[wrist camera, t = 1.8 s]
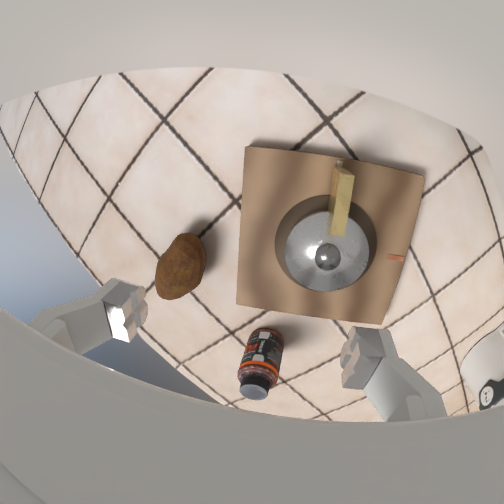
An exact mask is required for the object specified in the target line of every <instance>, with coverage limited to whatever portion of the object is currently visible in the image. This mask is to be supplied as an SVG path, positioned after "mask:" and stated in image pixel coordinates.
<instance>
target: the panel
mask: <svg viewBox="0 0 504 504" xmlns="http://www.w3.org/2000/svg"><path fill="white" fill-rule="evenodd" d="M334 166H336V167H342V168H346V169H347V170H348V171H350V172H351V173H352V174H353V175H354V176H355V177H354V184H353V190H352V196H351V202H350V208H349V213H348V215H350V216H351V217H352V218H354V219H355V220H356V221H357V223H358V224H359V225H360V227H361V228H362V230H363V232H364V234H365V236H366V239H367V241H368V246H369V258H368V262H367V265H366V267H365V269H364V271H363V273H362V274H361V275H360V277H359V278H358V279H357V280H356V281H355V282H353V283H352V284H350V285H349V286H347V287H345V288H343V289H340V290H336V291H330V292H322V291H316V290H312V289H309V288H307V287H305V286H304V285H302V284H300V283H299V282H298V281H297V280H296V279H295V278H294V277H293V276H292V274H291V273H290V271H289V269H288V267H287V264H286V260H285V247H286V242H287V238H288V235H289V232H290V230H291V228H292V227H293V225H294V224H295V223H296V222H297V221H298V220H299V219H300V218H301V217H302V216H304V215H306V214H307V213H310V212H312V211H315V210H319V209H328V204H329V197H330V191H331V184H332V177H333V169H334ZM424 182H425V177H424V176H422V175H419V174H416V173H412V172H408V171H404V170H400V169H396V168H392V167H387V166H383V165H378V164H373V163H369V162H364V161H359V160H353V159H348V158H342V157H336V156H330V155H324V154H317V153H310V152H303V151H295V150H286V149H277V148H267V147H255V146H246V147H245V156H244V171H243V187H242V204H241V221H240V239H239V258H238V278H237V299H236V304H237V305H243V306H248V307H254V308H260V309H266V310H272V311H278V312H284V313H291V314H297V315H304V316H311V317H319V318H326V319H334V320H342V321H350V322H359V323H368V324H378V325H381V324H382V322H383V320H384V317H385V315H386V312H387V310H388V307H389V305H390V302H391V299H392V297H393V294H394V291H395V288H396V286H397V283H398V280H399V277H400V274H401V271H402V268H403V265H404V262H405V259H406V255H407V252H408V249H409V245H410V242H411V238H412V234H413V231H414V227H415V223H416V219H417V215H418V210H419V206H420V202H421V197H422V192H423V187H424Z"/></svg>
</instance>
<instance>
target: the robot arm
mask: <svg viewBox="0 0 504 504" xmlns="http://www.w3.org/2000/svg"><path fill="white" fill-rule="evenodd" d="M145 296H146V291H145V288H144V287H143V286H140V285H137V284H134V283H130V282H127V281H122V280H119V279H116V278H111V279H110V280H109V281H108V282H107V283H106V284H104V285H103V286H102V287H101V288H100V289H99V290H98V291H97V292H96V293H95V294H93V295H92V296H91V297H89V296H87V297H83V298H81V299H77V300H74V301H71V302H68V303H64V304H61V305H58V306H55V307H52V308H49V309H45V310H43V311H42V312H41V313H39V314H38V315H37V316H36V317H35V318H34V319H33V320H32V321H31V322H30V323H29V324H28V325H26V324H25V323H23V322H22V321H20V320H19V319H17V318H16V317H14V316H13V315H11V314H10V313H8V312H7V311H6V310H4V309H3V308H1V307H0V504H504V323H503V324H501V325H500V326H499V327H498V328H497V329H496V330H495V331H494V332H492V333H490V334H489V335H487V336H486V337H484V338H483V339H482V340H480V341H479V342H478V343H477V344H476V345H475V346H474V347H473V348H472V349H471V350H470V352H469V353H468V354H467V356H466V357H465V359H464V360H463V362H462V365H461V368H460V374H461V376H462V377H463V378H464V386H465V387H468V388H469V390H470V392H471V394H472V396H473V398H474V400H475V402H476V404H477V405H478V406H479V409H480V411H476V412H471V413H466V414H461V415H455V416H447V413H446V410H445V407H444V403H443V400H442V397H441V394H440V393H439V392H438V391H437V390H436V389H435V388H434V387H433V386H432V385H431V384H430V383H428V382H427V381H426V380H425V379H424V378H423V377H422V376H421V375H420V374H419V373H418V372H416V371H415V370H414V369H413V368H412V367H411V366H410V365H409V364H408V363H407V362H405V361H404V360H403V359H402V358H399V357H398V354H397V351H396V348H395V345H394V342H393V339H392V336H391V333H390V331H389V330H388V329H372V328H363V327H355V326H352V328H351V329H350V331H349V333H348V336H349V340H348V341H346V342H345V343H344V345H343V348H342V351H341V356H340V364H341V367H342V368H343V369H344V370H343V372H342V374H341V375H342V386H343V388H350V389H362V390H363V392H364V393H365V394H366V396H367V397H368V399H369V400H370V401H371V403H372V404H373V406H374V407H375V408H376V410H377V411H378V413H379V414H380V416H381V417H382V418H383V420H384V421H385V422H339V421H322V420H311V419H301V418H292V417H284V416H277V415H270V414H264V413H258V412H253V411H247V410H242V409H237V408H233V407H228V406H224V405H219V404H215V403H211V402H207V401H203V400H199V399H196V398H192V397H189V396H185V395H182V394H179V393H175V392H172V391H169V390H166V389H163V388H160V387H157V386H154V385H151V384H148V383H145V382H143V381H140V380H137V379H135V378H132V377H130V376H127V375H124V374H122V373H120V372H117V371H114V370H112V369H110V368H108V367H105V366H103V365H101V364H99V363H97V362H94V361H92V360H90V359H88V358H86V357H84V356H82V355H81V354H83V353H85V352H87V351H89V350H91V349H93V348H95V347H96V346H98V345H100V344H102V343H104V342H106V341H107V340H109V339H111V338H112V337H114V338H118V339H120V340H123V341H127V342H130V341H131V340H132V339H133V337H134V336H135V335H136V333H137V327H140V326H142V325H143V324H144V322H145V321H146V318H147V315H148V305H147V303H146V302H145V300H144V298H145Z"/></svg>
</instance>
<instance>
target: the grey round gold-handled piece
mask: <svg viewBox="0 0 504 504" xmlns="http://www.w3.org/2000/svg"><path fill="white" fill-rule="evenodd" d="M354 177H355V176H354V175H353V174H352V173H351V172H350V171H348V170H347V169H346V168H342V167H336V166H334V169H333V177H332V184H331V191H330V197H329V204H328V209H319V210H315V211H312V212H310V213H307V214H306V215H304V216H302V217H301V218H300V219H299V220H298V221H297V222H296V223H295V224H294V225H293V227H292V228H291V230H290V232H289V235H288V238H287V242H286V247H285V260H286V264H287V267H288V269H289V271H290V273H291V274H292V276H293V277H294V278H295V279H296V280H297V281H298V282H299V283H300V284H302V285H304V286H305V287H307V288H309V289H312V290H316V291H322V292H330V291H336V290H340V289H343V288H345V287H347V286H349V285H350V284H352V283H353V282H355V281H356V280H357V279H358V278H359V277H360V275H361V274H362V273H363V271H364V269H365V267H366V265H367V262H368V258H369V246H368V241H367V239H366V236H365V234H364V232H363V230H362V228H361V227H360V225H359V224H358V223H357V221H356V220H355V219H354V218H352V217H351V216H350V215H348V213H349V208H350V202H351V196H352V190H353V184H354Z"/></svg>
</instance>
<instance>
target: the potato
mask: <svg viewBox="0 0 504 504" xmlns="http://www.w3.org/2000/svg"><path fill="white" fill-rule="evenodd" d="M205 261H206V256H205V250H204V247H203V244H202V242H201V240H200V239H199V238H198V237H197V236H195V235H193V234H191V233H183V234H180V235H178V236H177V237H176V238H175V240H174V241H173V242H172V244H171V245H170V247H169V248H168V249H167V251H166V252H165V253H164V254H162V256H161V257H160V259H159V261H158V263H157V268H156V275H155V286H156V290H157V293H158V295H159V296H160V297H161V298H163V299H167V300H173V299H177V298H180V297H182V296H184V295H185V294H187V293H189V292H190V291H192V290H193V289H195V288H196V287H197V286H198V285H199V284H200V282H201V279H202V276H203V272H204V268H205Z"/></svg>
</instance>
